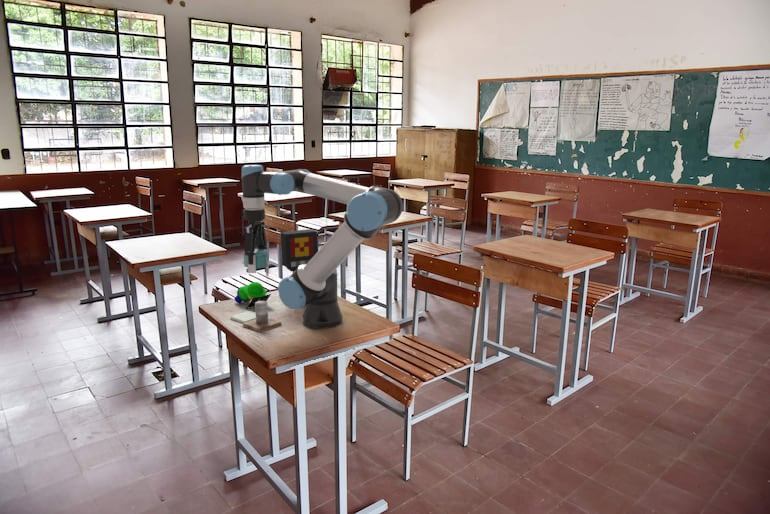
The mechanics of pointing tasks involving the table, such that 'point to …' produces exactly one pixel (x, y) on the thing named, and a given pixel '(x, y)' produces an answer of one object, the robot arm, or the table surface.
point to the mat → (244, 316)
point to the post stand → (261, 318)
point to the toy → (251, 294)
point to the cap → (258, 258)
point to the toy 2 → (298, 247)
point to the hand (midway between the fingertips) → (256, 269)
